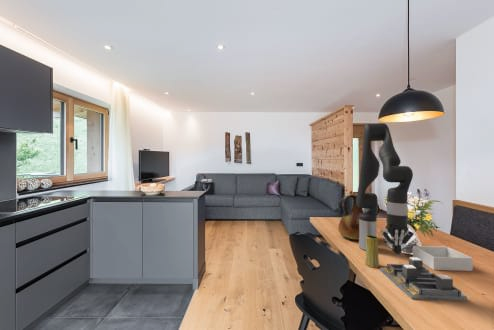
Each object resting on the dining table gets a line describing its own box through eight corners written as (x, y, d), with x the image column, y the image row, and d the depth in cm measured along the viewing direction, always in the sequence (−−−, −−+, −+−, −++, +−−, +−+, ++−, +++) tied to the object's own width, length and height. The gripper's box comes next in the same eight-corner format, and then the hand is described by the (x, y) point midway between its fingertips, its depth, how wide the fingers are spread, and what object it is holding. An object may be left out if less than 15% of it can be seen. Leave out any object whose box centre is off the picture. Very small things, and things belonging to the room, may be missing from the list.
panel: (380, 270, 107) (380, 263, 107) (424, 272, 105) (424, 264, 105) (411, 298, 85) (411, 289, 85) (467, 300, 83) (467, 291, 83)
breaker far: (408, 269, 104) (408, 257, 104) (417, 269, 104) (417, 257, 104) (413, 272, 101) (413, 259, 101) (422, 273, 101) (422, 260, 101)
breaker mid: (402, 278, 97) (402, 264, 97) (411, 278, 97) (412, 264, 96) (406, 281, 94) (407, 267, 94) (416, 282, 94) (416, 268, 94)
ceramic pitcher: (377, 243, 143) (377, 196, 143) (345, 242, 143) (345, 196, 143) (362, 233, 163) (362, 192, 162) (334, 233, 163) (334, 192, 163)
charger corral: (412, 256, 122) (412, 245, 122) (446, 257, 121) (447, 246, 121) (433, 269, 108) (433, 257, 108) (472, 270, 107) (472, 258, 106)
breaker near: (435, 289, 88) (435, 274, 88) (446, 289, 88) (446, 274, 88) (441, 293, 85) (441, 278, 85) (452, 293, 85) (452, 278, 85)
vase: (366, 261, 117) (366, 234, 117) (380, 264, 113) (380, 236, 113) (363, 265, 112) (364, 237, 112) (377, 269, 108) (378, 239, 108)
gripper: (407, 211, 99) (406, 250, 99) (376, 210, 99) (376, 249, 99) (419, 215, 91) (419, 257, 91) (386, 214, 92) (385, 256, 92)
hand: (396, 253), depth 95 cm, fingers closed
